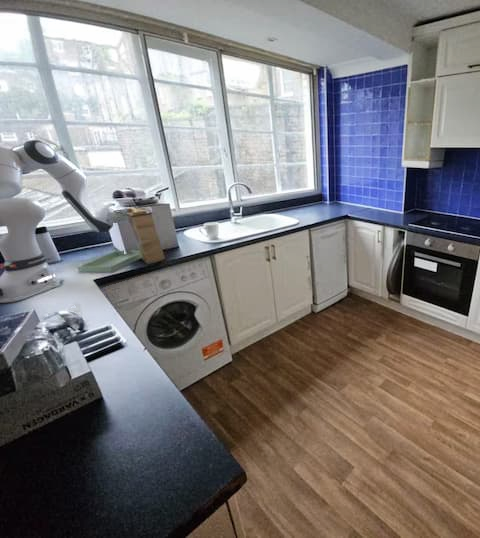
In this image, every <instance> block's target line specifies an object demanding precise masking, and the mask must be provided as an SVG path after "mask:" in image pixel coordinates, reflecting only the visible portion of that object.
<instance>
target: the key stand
mask: <svg viewBox="0 0 480 538" xmlns="http://www.w3.org/2000/svg"><path fill="white" fill-rule="evenodd" d="M145 211H146V210H145ZM125 214H126V215H127V217H128V220H129V223H130V226H131V229H132V231H133V232H132V235H133V238H134V240H135V243H136V245H137V249H138V251H139V252H140V255H141V260H142V262H145V263H146V264H148V265H151V264H154V263H158V262H161V261H165V260H166V257H165V254H164V250H163V247H162V245H161V241H160V238H159V234H158V231H157V228H156V225H155V221H154V218H153V214H152V212H149V211H146V213H143V214H137V215H134V214H132V212H129V213H125Z"/></svg>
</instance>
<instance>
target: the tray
mask: <svg viewBox="0 0 480 538" xmlns="http://www.w3.org/2000/svg"><path fill="white" fill-rule="evenodd" d="M124 251H125V250H114V251H111V252H109V253H107V254H105V255H102V256H100V257H97V258H95V259H93V260H90V261H88V262H85V263H83V264H81V265H78V266H76V268H77V271H78V273H114V272H116V271H118V270H121V269H123V268H125V267H127V266H129V265H131V264H133V263H135V262H137V261H139V260H142V258H141V255H140V252H139V250H131V251H132V254H124Z"/></svg>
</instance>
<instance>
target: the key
mask: <svg viewBox="0 0 480 538" xmlns="http://www.w3.org/2000/svg"><path fill="white" fill-rule="evenodd" d="M134 207H135V206H134ZM134 207H133V206H131V207H129V206H128V207H127V208H128V209H129V211H132V214H134V215H137V214H143V213H146V211H145V210H138V209H136V208H134Z"/></svg>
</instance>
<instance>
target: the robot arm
mask: <svg viewBox="0 0 480 538" xmlns="http://www.w3.org/2000/svg"><path fill="white" fill-rule="evenodd" d="M38 170H43V171H44V172H46V173H47V174H48V175H49V176H51V178H53V180H55V182H57V183H58V184H59V186H60V187H61V190H62V191H61V194H62V197H63V198H64V199H65V200H66V201H67V202H68V204H69V205H70V206H71V207H72V208H73V209H74V210H75V211H76V213H77V214H79V216H80V217H81V218H82V220H84V222H85V223H86V224H87V226H88V227H89V228H90V229H91V230H92V231H94V232H96V233H99V234H102V233H103V234H105V233H108V232H109V231H110V230H112V228H113V227H114V226H113V223H117V222H120V221H124V220H126V219H128V217H127V215H126V214H125V213H129V212H132V211H129V209H128V208H129V207H124V208H125V209H124V210H122V211H116V212H110V210H109V207H111V206H115V204H116V203H113V202H109V203H107V204H105V206H103V207H102V208H100V210H98V211H97V212H96V213H94V214H93V212H92V211H91V210H90V209H89V208H88V207H87V206H86V204H85V203H83V200H82V195H83V193H84V191H85V189H86V187H87V184H88V183H87V182H88V180H87V177H86V175H85V174H84V173H83V171H82V170H81V169H79V168H78V167H77V166H76V165H75V164H74V163H72V162H71V161H70V160H68V159H67V158H66V157H64V156H63V155H61V154H60V153H59V152H56V151H55V150H54V149H53V148H52V146H50V145H49V144H48V143H46V142H43V141H42V140H37V139H33V140H28V141H25V142H24V143H20V144H18V145H15V146H13V147H11V148H8V147H4V146H0V228H1V227H2V228H3V227H6V229H7V233H6V234H5V235H3V236H2V237H0V253H1V256H2V257H3V259H4V262H3V263H0V270H3V269H4V271H3V272H2V274H1V275H0V304H7V303H16V302H19V301H23V300H26V299H28V298H30V297H34V296H36V295H39V294H42V293H44V292H47V291H49V290H52V289H54V288H57V287H59V286H61V282H62V281H61V279H60V278H59V277H58V276H57V274H55V272H54V271H53V269H52V268H51V267H50V264H47V259H46V257H45V255H44V254H43V253H42V252H41V250H40V248H39V246H38V243H37V241H36V237H35V230H36V228H38V225H39V224H40V223H41V222H42V221H43V220H44V218H45V217H46V210H45V207H44V206H43V205H42V203H41V202H39V201H38V200H37V199H34V198H27V197H18V196H19V195H20V194H21V193H22V191H23V175H28V174H31V173H34V172H35V171H38ZM16 196H17V197H16ZM134 208H136V209H138V210H146V211H149V212H152V215H154V214H153V213H154V211H153V209H152V207H151V206H143V207H138V206H134ZM128 222H129V221H128Z"/></svg>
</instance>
